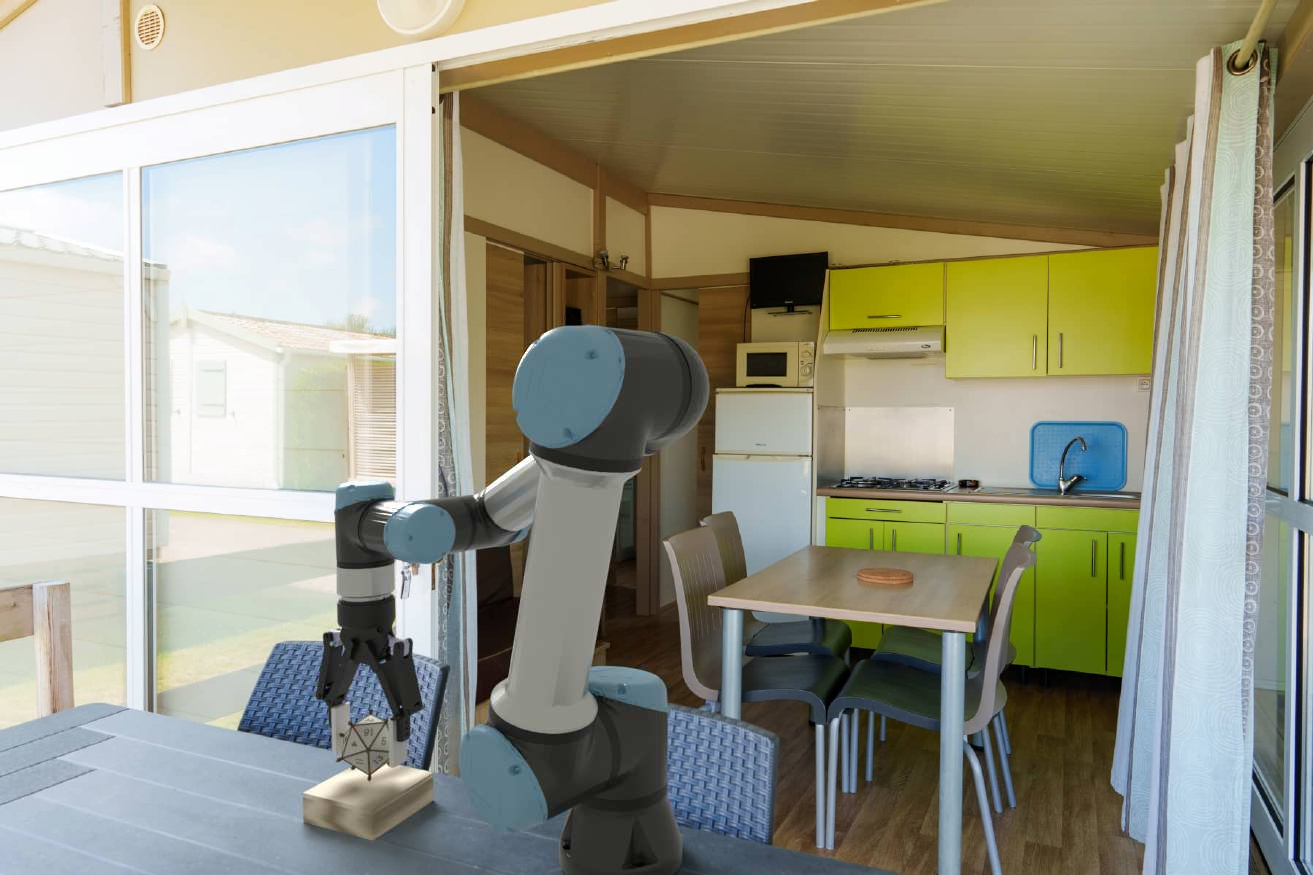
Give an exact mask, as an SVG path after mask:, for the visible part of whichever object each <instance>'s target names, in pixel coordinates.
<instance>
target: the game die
mask: <svg viewBox="0 0 1313 875" xmlns="http://www.w3.org/2000/svg"><path fill="white" fill-rule="evenodd" d="M373 713H374V710H373V709H372V708H371V707H370V708H369V710H368V715H366V716H364V717H363V718H361V719H360V720H358V721H356V722H355V723H353V722H352V721H351V720H350V722H348V725H349V726H350V728H349V730H348V731H347V732H346V734H345V735H344V734H343V733H340V734H339V735H340V737H344V739H343V748H342V753H341V757H338V758H336V760H335V763H340V762H341V761H344V762H345V763H347V764H349V765H350V767H351V770H355V768H357V769H359V770H360V771H362V772H364V773H365V774H367V775H368V777H367V778H368V779H367V780H368V781H369V782H370V781H371V775H372V774H373V773H374V772H376V771H377V770H378V769H380V768H381V767H382V766H384V765H385V764H387V765H388V766H389V729H388V719H389V718H390V717H386V718H385V719H382V718H380V717H378V716H377V715H374V714H373Z"/></svg>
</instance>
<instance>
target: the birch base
mask: <svg viewBox="0 0 1313 875" xmlns="http://www.w3.org/2000/svg"><path fill="white" fill-rule="evenodd" d="M351 767H352V766H350V767H348V768H346V769H345V770H342V771H341V772H339V773H337V774H334V776H331V777H329V778H327V779H325V780H324V781H323V782H321V783H318V784H317V785H314V786H313V787H311V788H309V789H307V790H305V791H304V792H302V818H303V821H302V822H303V823H305V824H309V825H312V826H313V825H314V826H316V827H320V828H323V829H328V830H332V831H336V832H339V833H343V834H346V835H351V836H353V837H358V838H361V839H366V840H368V841H375V840H376V839H378V838H379V837H381V836H383V835H384V834H385V833H387V832H389V831H390V830H391V829H394V827H396V826H398V825H399V824H401V823H402V822H404V821H405V820H407V819H408V818H410V817H411V816H413V815H414V814H416V813H417V812H419V811H420V810H421V809H423V808H425V807H426V806H428V805H430V804H431V803H432V802H434V800H435V799H434V798H435V796H434V793H435V792H434V772H433V771H432V772H431V771H427V770H422V769H418V768H414V767H413V768H412V767H409V766H405V765H401V764H400V765H398V766H396V767H394V768H391V767H389V766H388V765H387V764H385V765H384V766H382V767H381V768H380V769H378V770H377V771H376V772H374V773H373V774H372V775H371V781H370V782H369V781H368V780H367V779H368V778H367V777H368V775H367V774H365V773H364V772H362V771H360V770H359V769H357V768H355V770H351Z"/></svg>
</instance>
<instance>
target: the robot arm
mask: <svg viewBox="0 0 1313 875" xmlns="http://www.w3.org/2000/svg"><path fill="white" fill-rule="evenodd" d="M511 397H512V398H511V399H512V408H513V411H514V412H516V413H518V414H517V416H516V418H515V420H516V422H517V425H518V427H519V429H520V430H521V432H522V434H524V436H525V437H526V438H528V440H529V447H528V453H529V456H527V457H526V458H524V459H523V460H521V461H520V462H519V463H518V464H516V465H515V466H513V467H512V468H511V469H509V470H508V471H506V472H505V473H504V474H503V475H501V476H500V477H498V478H497V479H496V480H494V481H493V482H492V483H491V484H489V485H488V486H486V487H485V488H484V489H482V490H480V491H479V492H477V493H474V494H467V495H458V496H452V497H441V498H439V497H438V498H432V499H429V498H428V499H421V500H407V501H406V500H397V499H396V498H395V495H394V487H393V485H392V484H391V483H390V482H389V481H384V480H362V481H361V480H360V481H359V480H358V481H350V482H348V481H347V482H344V483H341V484H339V485H338V486H337V488H336V489H335V504H334V505H335V506H334V510H333V515H334V531H335V532H334V533H335V535H334V536H335V557H336V595H337V596H339V598H338V600H337V601H336V615H337V616H336V617H337V620H336V622H337V625H338V627H337V628H334V629H332V630H329V631H326V632H323V634H322V641H323V651H322V657H321V664H320V668H319V675H318V681H317V687H316V691H315V698H316V699H317V701H323V702H325V705H326V706H327V707H328V727H329V728H330V729H331V754H332V755H333V756H338V755H340V754H342V748H343V739H344V737H340V735H339V734H340V733H343V734H344V735H345V734H346V732H347V731H348V730H349V728H350V727H351V726H349V725H348V722H351V702H348V701H346V700H348V699H349V697H348V693H349V690H350V688H351V686H352V684H353V681H354V678H355V676H356V673H357V671H358V670H359V666H360V665H361V664H363V665H366V666H369V667H370V669H371V671H372V673H374V674H375V675H376V677H377V679H378V681H379V684H380V686H381V689H382V692H383V694H384V696H385V699H386V702H387V704H388V707H389V709H390V711H391V714H392V717H388V718H389V719H388V722H387V723H388V729H389V767H391V768H394V767H396V766H398V765H400V766H401V764H403V763H404V762H407V761H408V740H409V739H410V738H411V716H412V715H415V714H416V713H419V712H421V711H422V710H423V708H424V705H423V700H422V699H423V698H422V694H421V690H420V684H419V681H418V680H419V679H418V676H417V671H416V667H415V663H414V658H413V651H414V650H413V646H414V641H413V639H412V638H411V637H407V638H405V639H402V638H398V637H396V636H395V633H394V630H393V625H394V622H395V621H396V613H397V612H396V596H395V595H394V594H393V592H394V591H395V589H396V587H395V586H396V584H395V580H396V579H395V578H396V577H395V576H396V575H395V574H396V573H395V560H397V561H401V562H402V563H408V565H409V564H410V565H417V564H422V565H432V564H434V563H437V562H439V561H440V560H441V559H443V558H445V556H446V555H452V554H458V553H462V552H468V551H474V550H475V551H476V550H481V549H489V548H494V547H495V548H496V547H498V548H499V547H500V548H501V547H506V546H508V545H511V544H515V543H518V542H520V541H523V539H525V538H526V537H527V536H528V533H529V531H530V529H531V532H530V536H529V543H528V550H527V557H526V561H525V562H526V563H525V569H524V575H523V581H522V583H523V584H522V587H521V596H520V602H519V605H518V606H519V607H518V615H517V619H516V620H517V621H516V625H515V626H516V627H515V632H514V633H515V634H514V639H513V645H512V646H513V647H512V652H511V658H510V665H509V671H508V677H506V678H505V679H503V680H502V681H500V682H498V684H496V685H495V687H494V688H493V690H492V691H491V694H490V701H489V706H488V714H487V717H486V718H487V719H486V721H485V722H484V723H478V724H475V725H474V726H473V727H472V728H471V729H470V730H469V731H467V732H466V733H465V734H464V735H463V737H462V739H461V740H460V741H461V742H460V745H459V750H458V763H459V766H458V767H459V772H460V776H461V780H462V782H463V787H464V788H465V791H466V793H467V795H468V797H469V798H468V799H469V800H470V802H471V803H472V805H473V807H474V808H475V809H476V811H477V813H478V814H479V816H481V818H482V819H484V820H485V822H486V823H488V824H489V825H490V826H492V827H493V828H494V829H496V830H497V831H500V832H502V833H504V834H505V833H506V834H517V833H521V832H524V831H527V830H529V829H531V828H533V827H541V826H542V825H543V824H545V823H546V822H547V821H549V820H551V819H553V818H555V817H557V816H558V815H560V814H562V813H564V812H566V811H567V815H566V819H565V822H564V824H563V828H562V832H561V834H560V837H559V841H558V842H559V843H558V863H559V868H560V870H561V872H562V871H563V872H562V873H563V875H675V874H676V873H677V872H678V870H680V867H681V865H682V863H683V839H682V834H681V832H680V829H679V825H678V822H677V818H676V816H675V814H674V810H673V807H672V805H671V804H672V803H671V800H670V798H669V793H668V792H669V788H668V787H669V786H668V784H669V782H668V781H669V780H668V779H669V775H668V774H669V770H668V769H669V767H668V766H669V763H668V762H669V713H670V708H669V707H668V692H667V690H668V689H667V687H666V684H665V682H664V681H663V679H662V678H660V676H658V675H656V674H654V673H653V672H649V671H646V670H642V669H638V668H632V667H626V666H615V665H613V666H611V665H610V666H609V665H599V666H598V665H597V666H592V663H593V658H594V654H595V653H594V652H595V648H596V641H597V636H598V630H599V625H600V619H601V613H602V608H603V604H604V602H603V601H604V597H605V590H606V585H607V581H608V580H607V579H608V574H609V570H610V564H611V563H610V562H611V558H612V551H613V546H614V540H615V534H616V529H617V524H618V523H617V522H618V518H619V512H620V508H621V507H620V506H621V501H622V496H623V490H624V485H625V483H626V482H627V481H628V480H630V479H631V478H632V477H634V476H636V475H637V474H639V473H640V472H641V470H642V469H643V462H644V456H645V457H646V456H653V455H655V454H656V453H658V452H660V451H661V450H663V449H664V448H666V447H668V446H669V445H671V444H674V443H675V442H676V441H679V440H680V438H682V437H684V436H685V435H686V434H687V433H689V432H690V431H691V430H692V429H694V428H695V426H696V425H698V423H699V421H700V420H701V418H702V416H703V414H704V412H705V410H706V409H707V405H708V401H709V399H710V380H709V374H708V371H707V368H706V366H705V364H704V361H703V360H702V358H701V356H700V355H699V354H698V352H697V351H696V350H695V349H694V348H693V346H691V345H690V344H688V342H686V341H684V339H681V338H679V337H677V336H675V335H672V334H669V333H666V332H659V331H644V330H643V331H642V330H636V329H634V330H633V329H625V328H618V327H617V328H616V327H608V326H601V325H592V324H585V325H565V326H564V325H563V326H559V327H554V328H552V329H550V330H549V331H546V332H545V333H543V334H542V335H541V336H540V338H538V339H537V340H534V342H532V344H531V345H530V346H529V347H528V348H527V350H526V352H525V353H524V355H523V356H522V358H521V359H520V362H519V363H518V366H517V369H516V372H515V376H514V380H513V385H512V396H511ZM339 627H340V628H339ZM384 660H385V661H384ZM344 701H345V702H344Z"/></svg>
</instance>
